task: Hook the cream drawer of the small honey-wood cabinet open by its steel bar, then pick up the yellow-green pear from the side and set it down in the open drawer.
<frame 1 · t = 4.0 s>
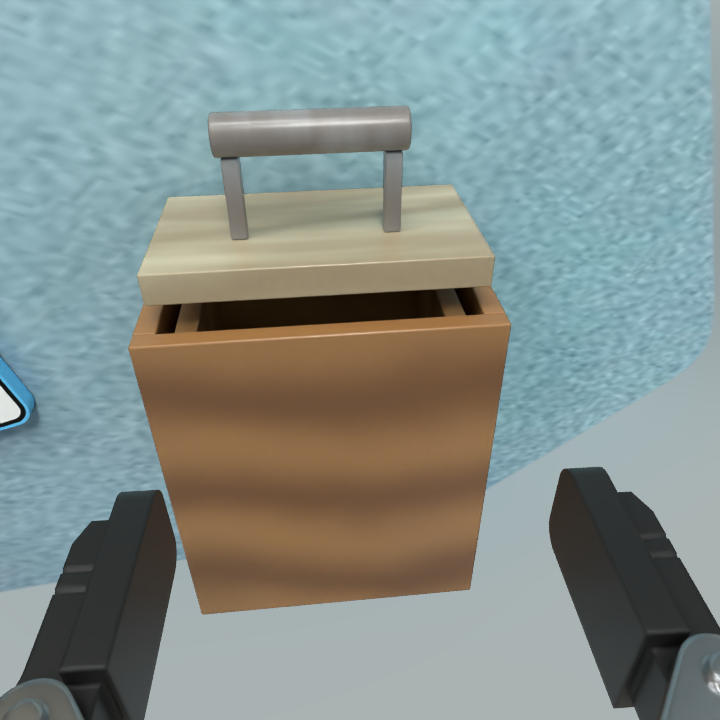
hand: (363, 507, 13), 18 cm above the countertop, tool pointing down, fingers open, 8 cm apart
drawer: (321, 336, 27), point 4 cm above the countertop, slide at 1.0 cm
cabinet: (322, 368, 33), on the countertop
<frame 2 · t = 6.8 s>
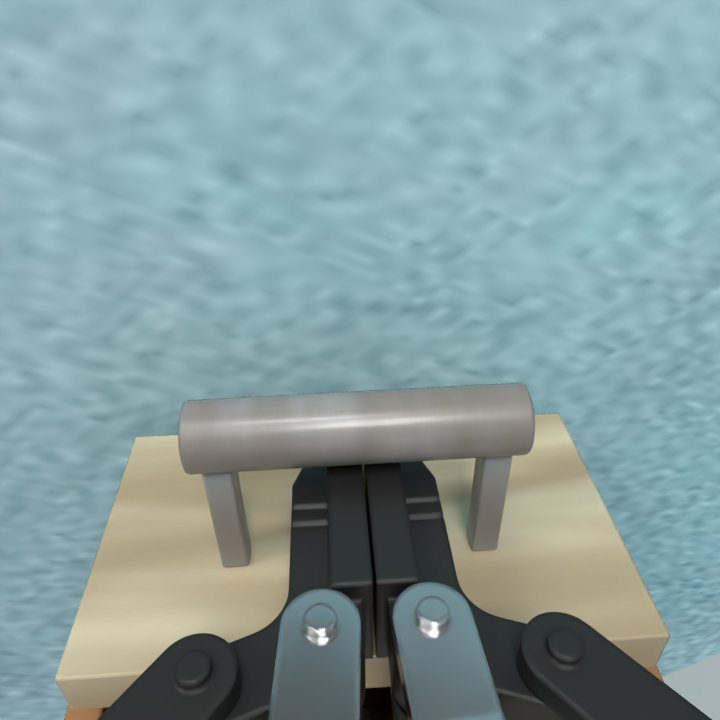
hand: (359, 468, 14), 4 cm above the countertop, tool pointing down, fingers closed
drawer: (361, 639, 18), point 4 cm above the countertop, slide at 1.1 cm, touching gripper
cabinet: (355, 607, 24), on the countertop
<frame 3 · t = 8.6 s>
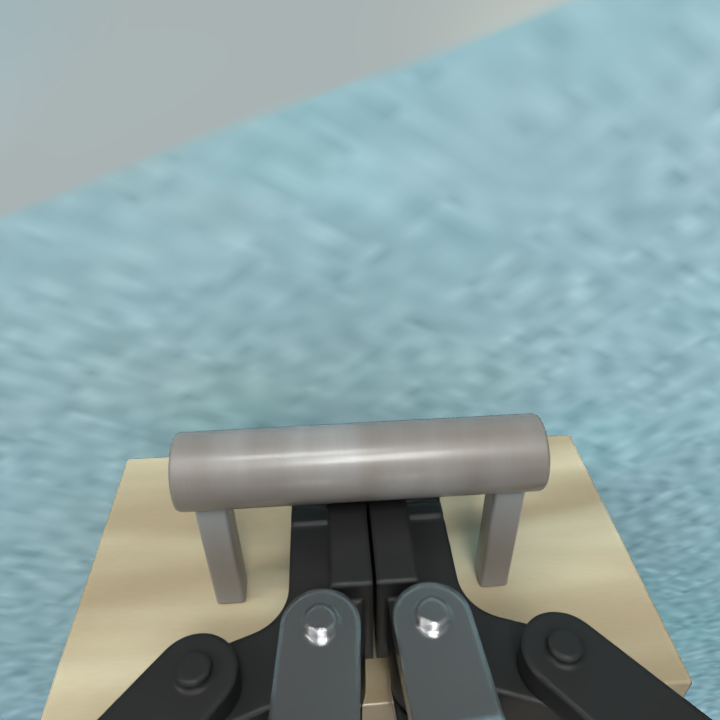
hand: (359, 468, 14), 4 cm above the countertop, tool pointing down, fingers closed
drawer: (362, 670, 17), point 4 cm above the countertop, slide at 8.1 cm, touching gripper
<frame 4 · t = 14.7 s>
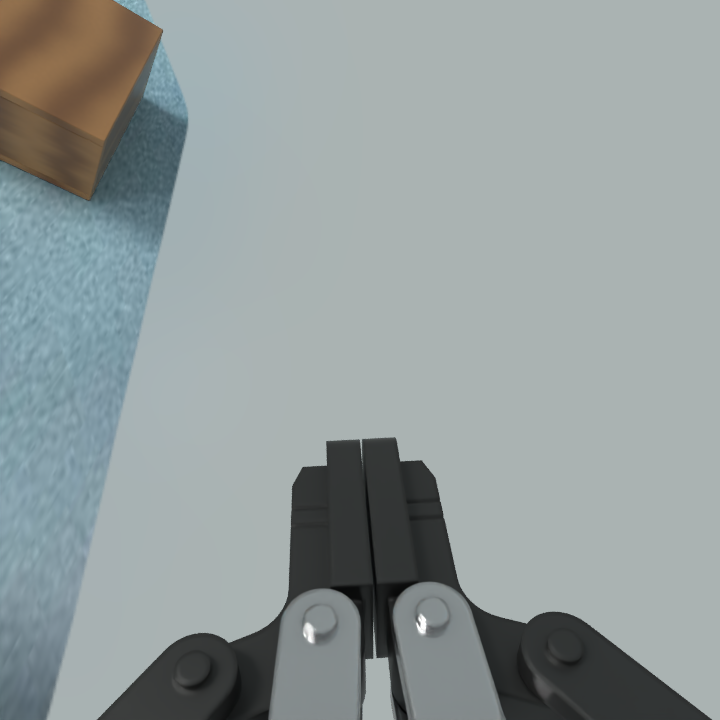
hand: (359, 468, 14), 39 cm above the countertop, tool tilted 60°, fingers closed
cabinet: (27, 100, 54), on the countertop
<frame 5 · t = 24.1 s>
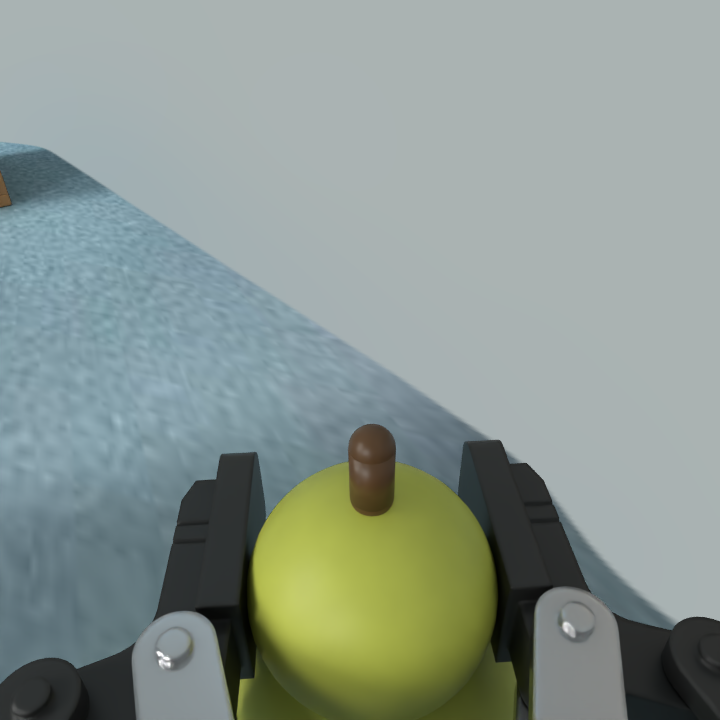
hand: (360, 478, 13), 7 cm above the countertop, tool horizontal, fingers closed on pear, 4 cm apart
when the fingers open (9 cm above the countertop, at t = 37.7 s): pear stays where it is, resting on drawer.
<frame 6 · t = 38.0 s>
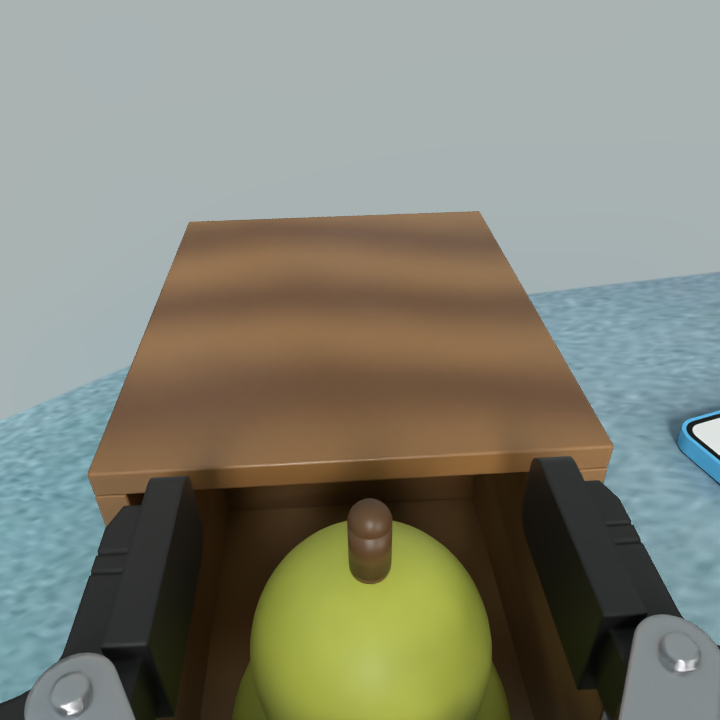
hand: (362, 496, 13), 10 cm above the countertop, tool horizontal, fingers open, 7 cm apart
cabinet: (348, 477, 27), on the countertop
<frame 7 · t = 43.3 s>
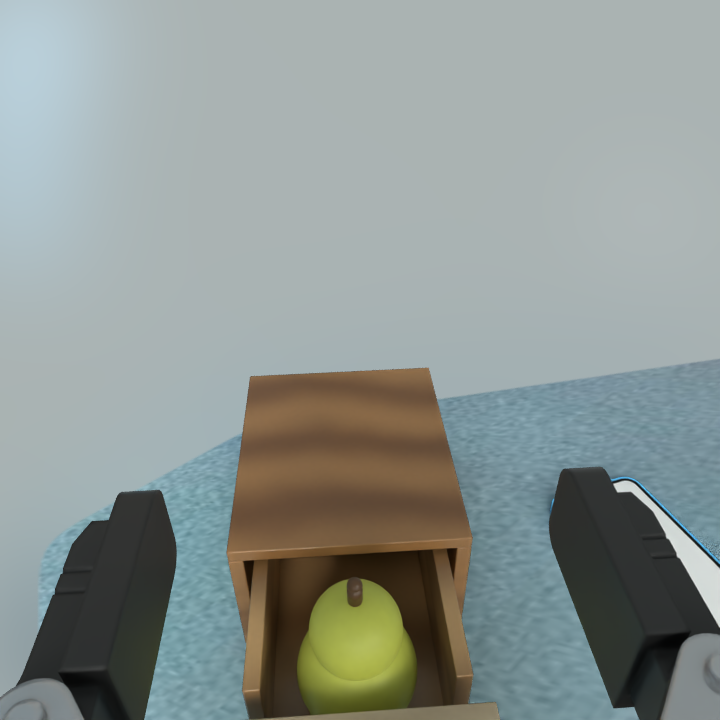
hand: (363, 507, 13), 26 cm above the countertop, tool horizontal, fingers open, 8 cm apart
smartphone: (655, 576, 42), on the countertop
drawer: (356, 665, 32), point 4 cm above the countertop, slide at 8.1 cm, touching pear
cabinet: (347, 533, 45), on the countertop
pear: (358, 699, 33), point 2 cm above the countertop, touching drawer
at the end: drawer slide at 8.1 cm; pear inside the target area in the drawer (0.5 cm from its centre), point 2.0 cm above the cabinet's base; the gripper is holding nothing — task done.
